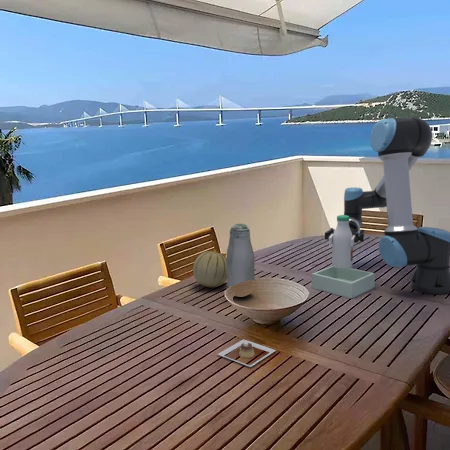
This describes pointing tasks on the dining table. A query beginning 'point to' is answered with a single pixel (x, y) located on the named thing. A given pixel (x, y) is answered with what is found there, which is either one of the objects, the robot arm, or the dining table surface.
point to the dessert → (246, 350)
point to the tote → (343, 281)
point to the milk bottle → (342, 244)
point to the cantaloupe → (210, 269)
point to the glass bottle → (239, 255)
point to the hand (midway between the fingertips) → (340, 242)
